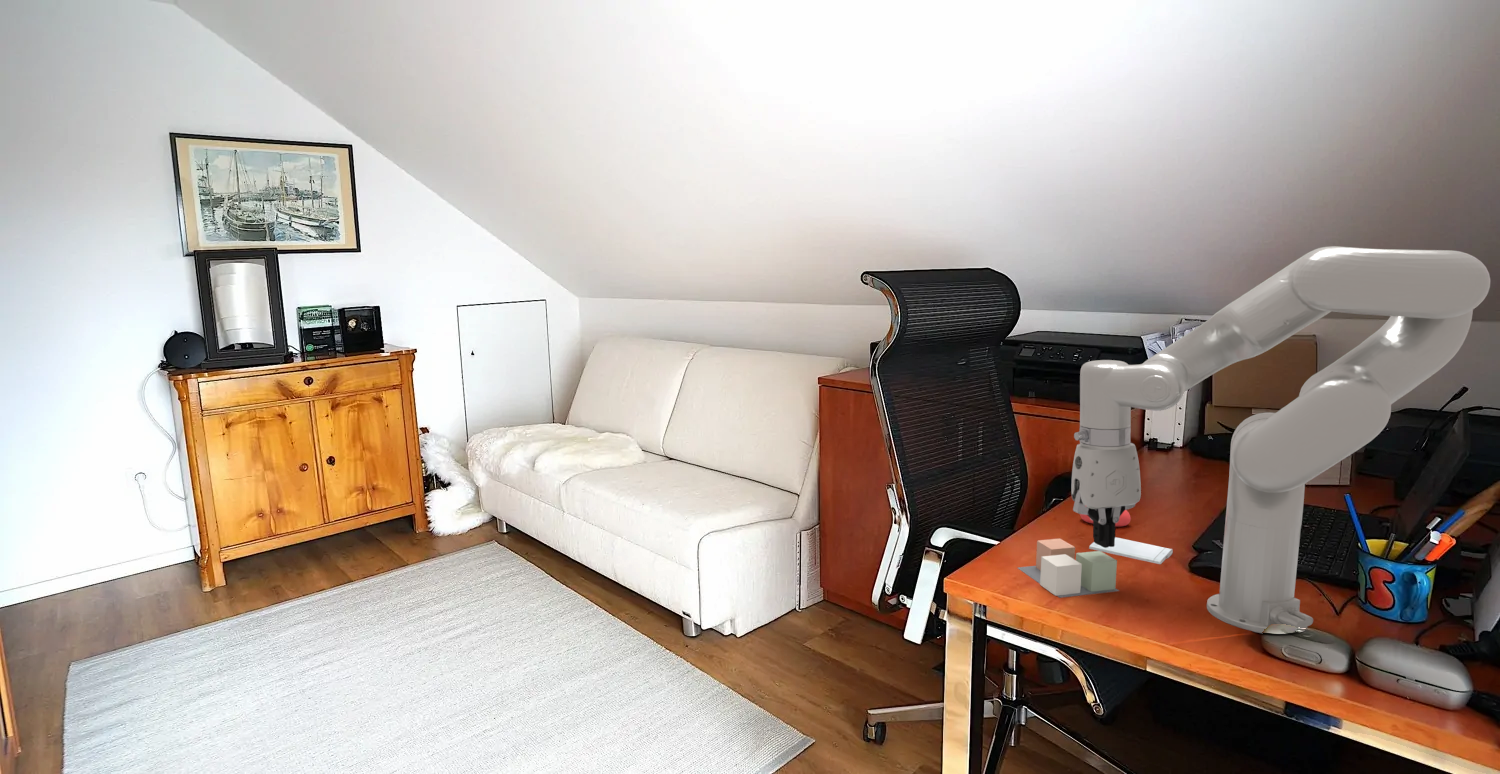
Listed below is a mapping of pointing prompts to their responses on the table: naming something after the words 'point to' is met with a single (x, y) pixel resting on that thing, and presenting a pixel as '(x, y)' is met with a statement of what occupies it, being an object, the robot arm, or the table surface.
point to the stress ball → (1123, 521)
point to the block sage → (1097, 571)
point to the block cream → (1060, 574)
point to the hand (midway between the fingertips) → (1104, 544)
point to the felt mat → (1036, 575)
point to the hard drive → (1136, 550)
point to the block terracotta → (1053, 549)
